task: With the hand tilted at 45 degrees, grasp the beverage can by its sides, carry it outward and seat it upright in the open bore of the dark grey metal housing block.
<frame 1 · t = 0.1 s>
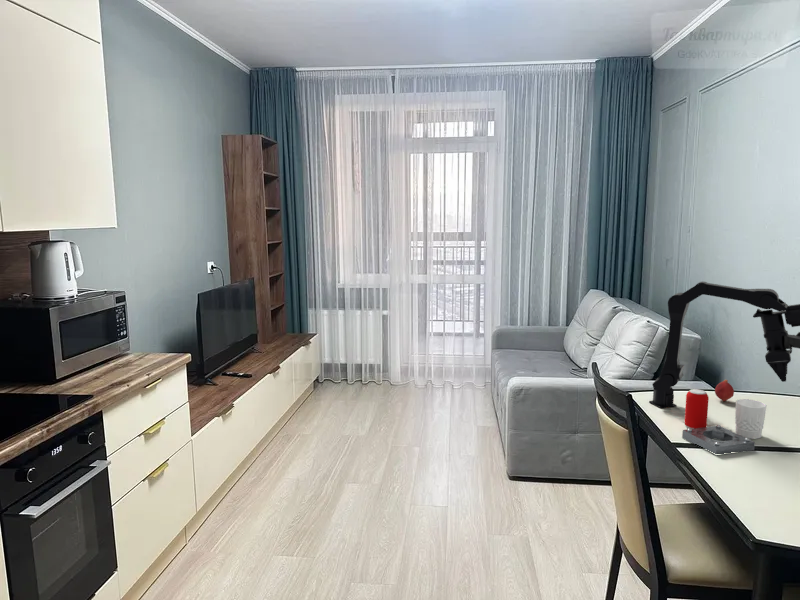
hand: (784, 377, 176), 15 cm above the table, tool pointing down, fingers open, 9 cm apart
beverage can: (695, 428, 177), on the table
white cup: (748, 435, 171), on the table
onion: (723, 401, 201), on the table
housing: (717, 443, 165), on the table
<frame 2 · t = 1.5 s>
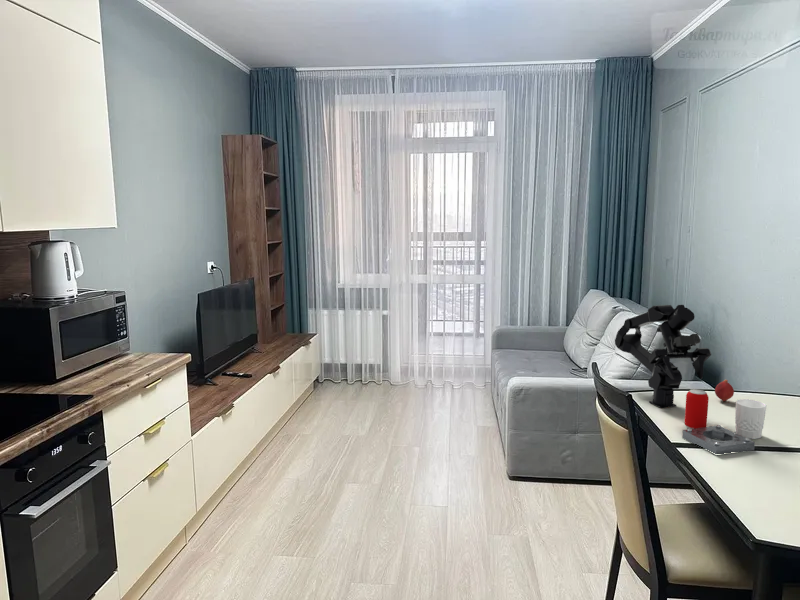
hand: (687, 378, 182), 14 cm above the table, tool tilted 45°, fingers open, 9 cm apart
nothing on the table moved.
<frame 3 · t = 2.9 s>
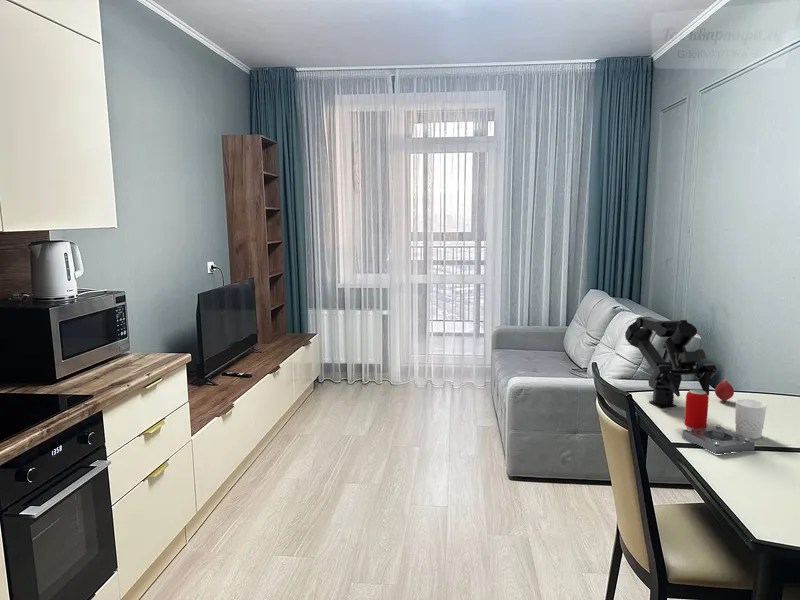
hand: (693, 395, 178), 10 cm above the table, tool tilted 45°, fingers open, 9 cm apart
nothing on the table moved.
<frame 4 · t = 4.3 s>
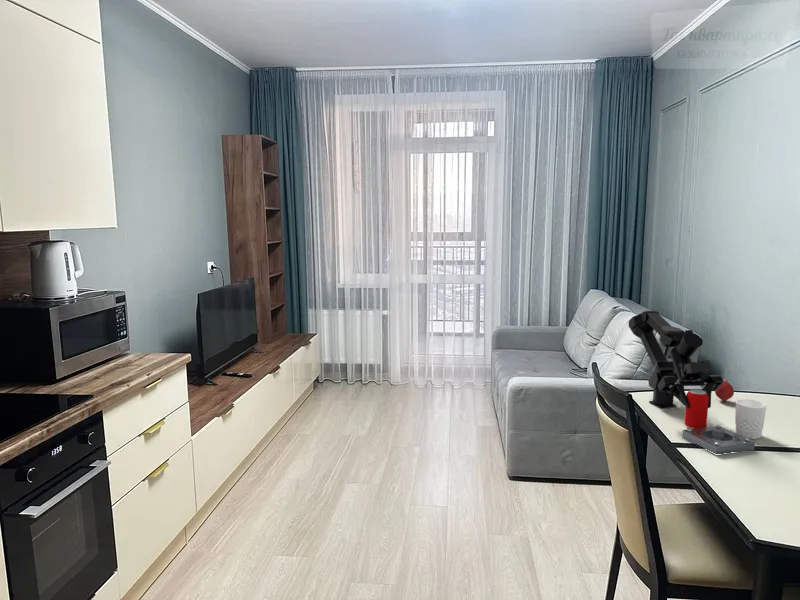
hand: (699, 407, 174), 7 cm above the table, tool tilted 45°, fingers closed on beverage can, 6 cm apart
beverage can: (695, 428, 177), on the table, touching gripper
everything else where it was.
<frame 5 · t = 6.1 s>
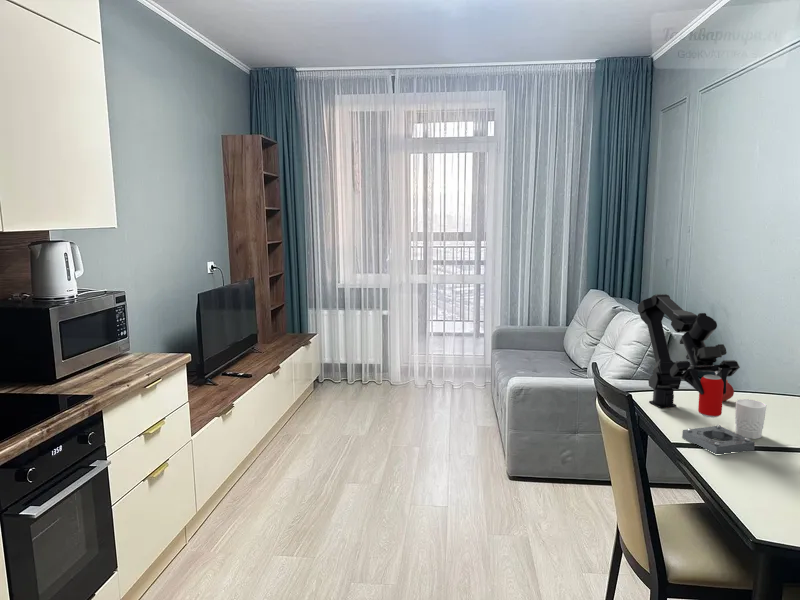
hand: (713, 393, 166), 14 cm above the table, tool tilted 45°, fingers closed on beverage can, 6 cm apart
beverage can: (709, 416, 168), point 7 cm above the table, touching gripper
everything else where it was.
when the fingers open (8 cm above the table, at t = 8.1 s): beverage can drops 1 cm, resting in housing.
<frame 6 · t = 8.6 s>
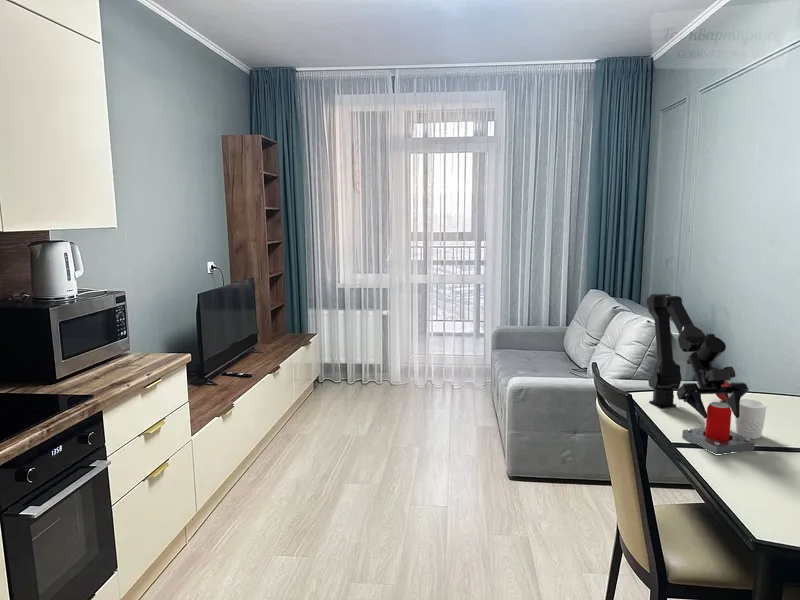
hand: (722, 417, 162), 9 cm above the table, tool tilted 45°, fingers open, 9 cm apart
beverage can: (716, 444, 165), resting in housing
everything else where it was.
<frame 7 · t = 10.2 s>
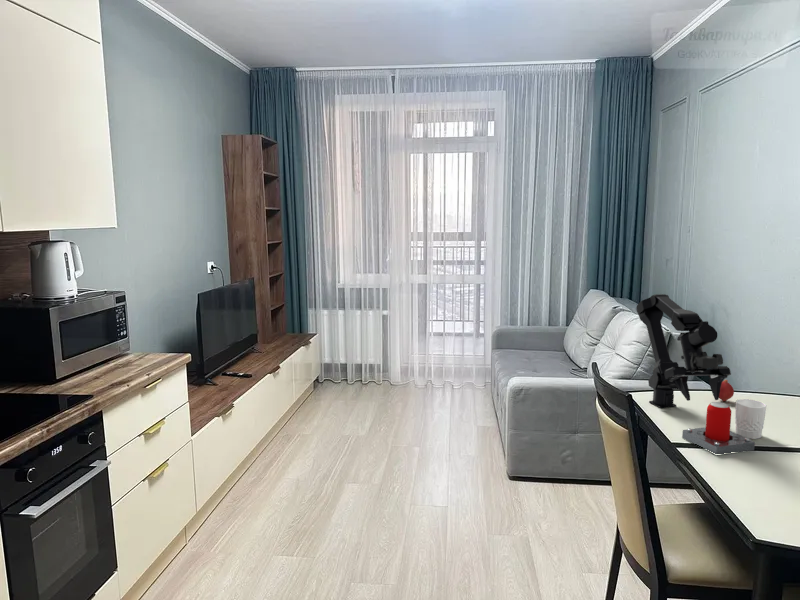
hand: (702, 400, 173), 10 cm above the table, tool tilted 30°, fingers open, 9 cm apart
nothing on the table moved.
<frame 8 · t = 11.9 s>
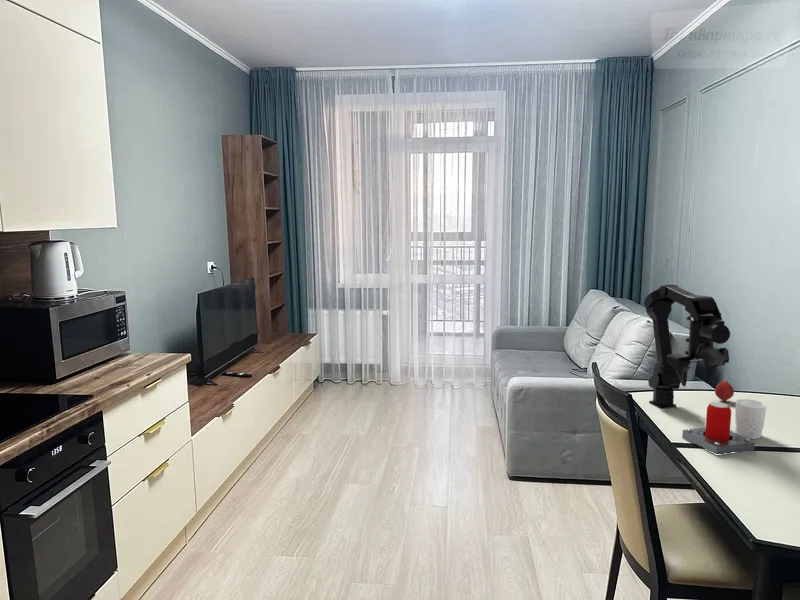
hand: (696, 384, 178), 13 cm above the table, tool pointing down, fingers open, 9 cm apart
nothing on the table moved.
at the end: beverage can 0.3 cm off-centre on the housing, point 0.0 cm above the housing's base; beverage can tilted 0°; the gripper is holding nothing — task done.
